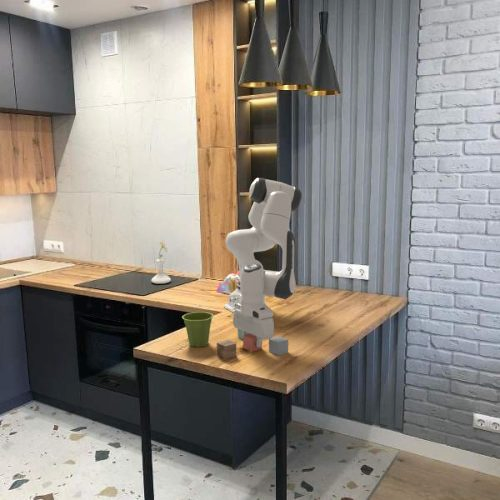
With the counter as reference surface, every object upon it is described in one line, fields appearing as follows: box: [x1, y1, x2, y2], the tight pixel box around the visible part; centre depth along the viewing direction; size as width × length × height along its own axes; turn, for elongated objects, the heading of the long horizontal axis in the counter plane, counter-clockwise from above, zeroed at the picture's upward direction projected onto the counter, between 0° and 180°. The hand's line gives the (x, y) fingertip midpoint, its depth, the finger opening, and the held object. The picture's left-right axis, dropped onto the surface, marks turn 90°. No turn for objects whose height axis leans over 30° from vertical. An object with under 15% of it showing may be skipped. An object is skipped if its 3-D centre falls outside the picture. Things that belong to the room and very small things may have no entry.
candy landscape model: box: [215, 270, 240, 295], centre depth 284 cm, size 25×24×9 cm
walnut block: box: [216, 339, 237, 360], centre depth 183 cm, size 5×5×5 cm
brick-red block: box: [242, 334, 263, 353], centre depth 191 cm, size 5×5×5 cm
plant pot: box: [181, 311, 214, 348], centre depth 195 cm, size 12×12×11 cm
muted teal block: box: [237, 328, 250, 340], centre depth 203 cm, size 5×5×5 cm
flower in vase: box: [150, 240, 172, 285], centre depth 300 cm, size 13×11×25 cm
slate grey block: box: [268, 335, 289, 356], centre depth 187 cm, size 5×5×5 cm
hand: (252, 344), depth 191 cm, fingers closed on brick-red block, 5 cm apart
